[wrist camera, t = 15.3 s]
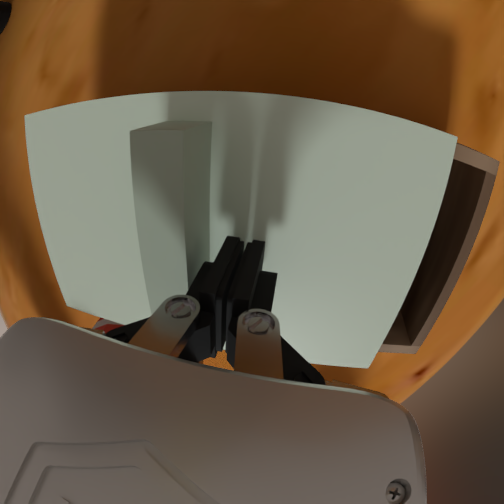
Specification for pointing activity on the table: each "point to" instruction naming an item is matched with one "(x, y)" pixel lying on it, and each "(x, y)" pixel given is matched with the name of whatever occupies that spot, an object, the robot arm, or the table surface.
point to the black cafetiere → (4, 14)
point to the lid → (240, 206)
